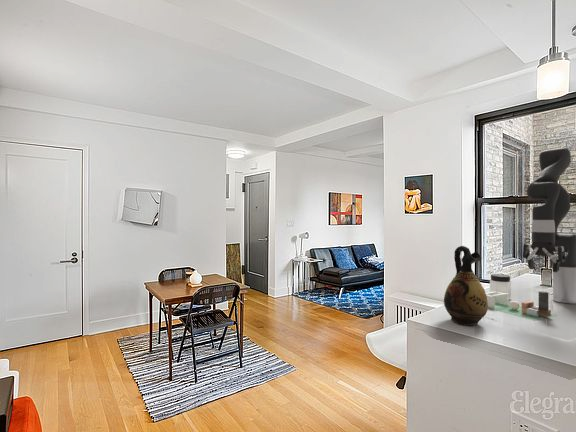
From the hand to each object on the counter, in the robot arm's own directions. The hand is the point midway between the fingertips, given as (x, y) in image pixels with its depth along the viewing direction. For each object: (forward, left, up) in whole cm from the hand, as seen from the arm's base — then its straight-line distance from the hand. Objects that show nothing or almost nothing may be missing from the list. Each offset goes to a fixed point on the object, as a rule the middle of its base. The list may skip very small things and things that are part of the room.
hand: (543, 270), depth 133 cm
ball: (0, -11, -17) cm, 21 cm away
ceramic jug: (+33, -11, -20) cm, 40 cm away
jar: (-15, -27, -20) cm, 37 cm away
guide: (0, -2, -19) cm, 19 cm away
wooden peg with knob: (0, -2, -19) cm, 19 cm away
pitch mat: (0, -11, -20) cm, 23 cm away
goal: (0, -20, -19) cm, 28 cm away
